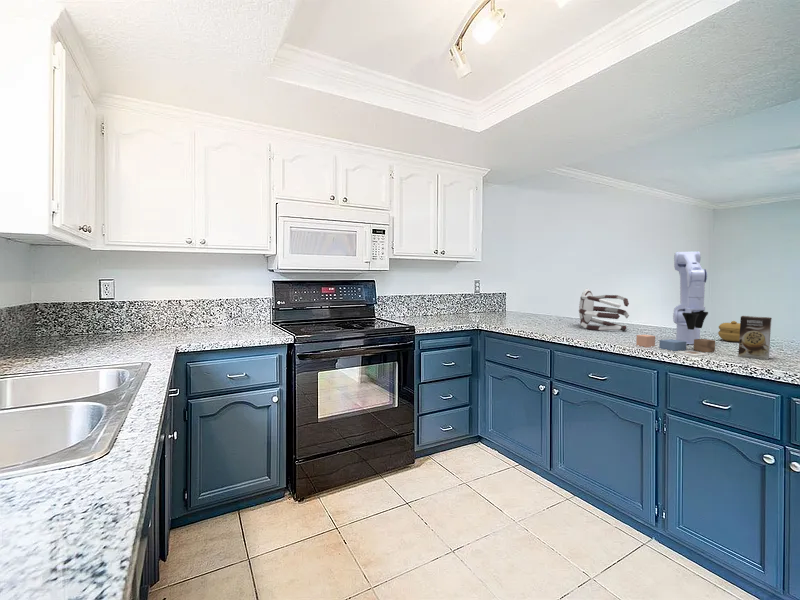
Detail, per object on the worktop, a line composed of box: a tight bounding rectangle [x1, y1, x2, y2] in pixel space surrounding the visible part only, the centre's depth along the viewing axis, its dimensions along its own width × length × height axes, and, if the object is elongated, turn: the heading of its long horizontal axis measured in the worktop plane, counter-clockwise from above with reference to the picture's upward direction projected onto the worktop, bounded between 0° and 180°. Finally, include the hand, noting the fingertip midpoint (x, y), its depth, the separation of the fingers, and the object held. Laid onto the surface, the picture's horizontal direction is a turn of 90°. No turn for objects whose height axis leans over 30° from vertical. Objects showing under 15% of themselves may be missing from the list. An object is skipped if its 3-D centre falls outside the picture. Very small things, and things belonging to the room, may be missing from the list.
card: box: [675, 350, 709, 357], centre depth 167 cm, size 8×8×1 cm
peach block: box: [635, 334, 656, 348], centre depth 185 cm, size 5×5×5 cm
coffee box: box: [737, 315, 773, 360], centre depth 159 cm, size 9×6×16 cm
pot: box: [717, 320, 740, 343], centre depth 196 cm, size 12×12×10 cm
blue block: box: [659, 338, 687, 352], centre depth 177 cm, size 7×7×4 cm
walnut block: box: [693, 338, 716, 353], centre depth 172 cm, size 5×5×5 cm
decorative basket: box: [578, 288, 630, 332], centre depth 244 cm, size 24×27×35 cm
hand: (694, 328), depth 173 cm, fingers open, 7 cm apart
